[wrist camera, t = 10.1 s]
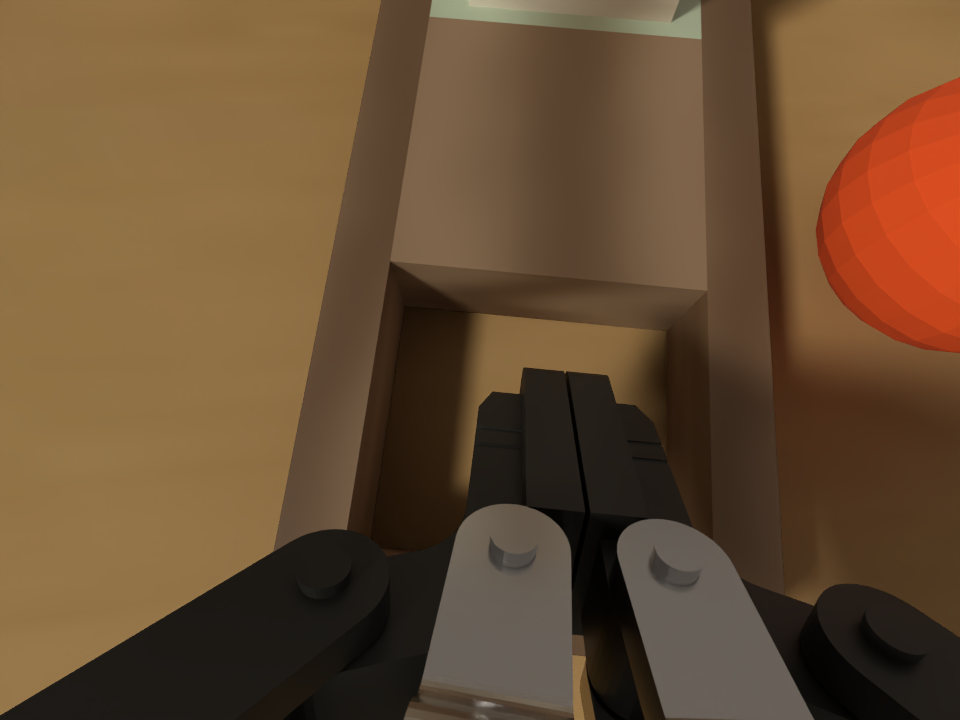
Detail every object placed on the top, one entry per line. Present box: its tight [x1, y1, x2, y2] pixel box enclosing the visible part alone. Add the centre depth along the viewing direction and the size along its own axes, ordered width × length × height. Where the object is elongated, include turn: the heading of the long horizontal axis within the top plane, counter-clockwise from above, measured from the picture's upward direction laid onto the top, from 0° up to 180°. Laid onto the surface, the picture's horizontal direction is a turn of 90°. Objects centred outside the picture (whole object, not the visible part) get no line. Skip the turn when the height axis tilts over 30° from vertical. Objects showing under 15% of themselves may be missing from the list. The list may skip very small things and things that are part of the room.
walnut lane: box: [273, 0, 785, 656], centre depth 17 cm, size 11×30×3 cm, turn 174°
